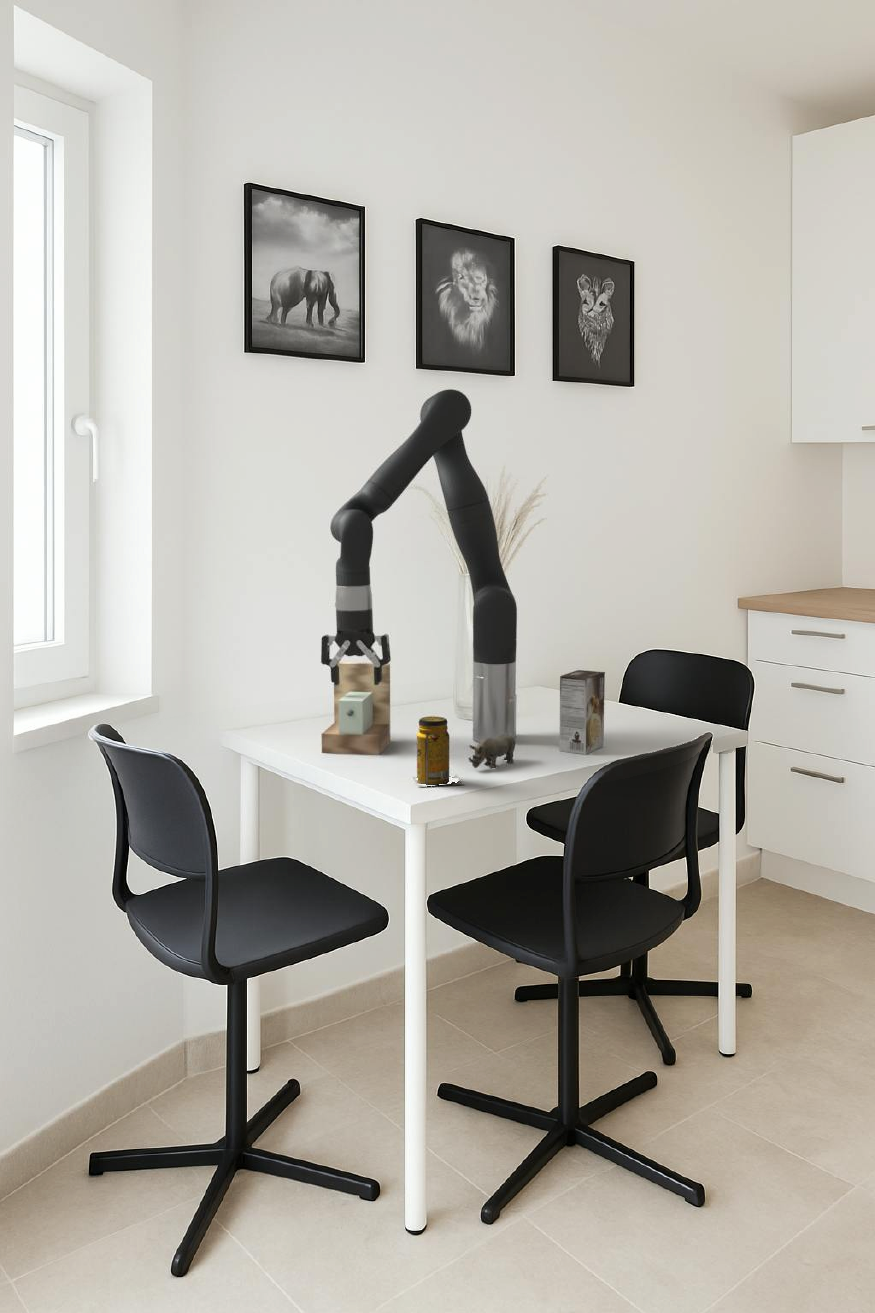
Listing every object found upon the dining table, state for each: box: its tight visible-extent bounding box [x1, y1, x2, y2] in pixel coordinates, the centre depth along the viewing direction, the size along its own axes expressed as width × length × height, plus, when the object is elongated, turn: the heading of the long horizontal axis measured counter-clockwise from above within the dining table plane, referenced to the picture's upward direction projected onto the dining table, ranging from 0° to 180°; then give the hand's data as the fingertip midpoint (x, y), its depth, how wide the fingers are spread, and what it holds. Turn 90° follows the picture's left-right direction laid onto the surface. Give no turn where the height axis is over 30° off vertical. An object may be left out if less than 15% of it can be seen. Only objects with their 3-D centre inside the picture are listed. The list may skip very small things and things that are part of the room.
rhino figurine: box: [468, 733, 516, 769], centre depth 209 cm, size 4×14×6 cm, turn 137°
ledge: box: [321, 722, 390, 756], centre depth 225 cm, size 12×11×4 cm
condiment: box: [412, 715, 465, 788], centre depth 198 cm, size 7×8×12 cm
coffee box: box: [558, 669, 606, 756], centre depth 223 cm, size 9×6×16 cm
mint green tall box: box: [338, 692, 373, 735], centre depth 224 cm, size 5×11×7 cm, turn 171°
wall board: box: [333, 661, 391, 743], centre depth 230 cm, size 12×2×17 cm, turn 82°
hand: (356, 684), depth 223 cm, fingers open, 8 cm apart
